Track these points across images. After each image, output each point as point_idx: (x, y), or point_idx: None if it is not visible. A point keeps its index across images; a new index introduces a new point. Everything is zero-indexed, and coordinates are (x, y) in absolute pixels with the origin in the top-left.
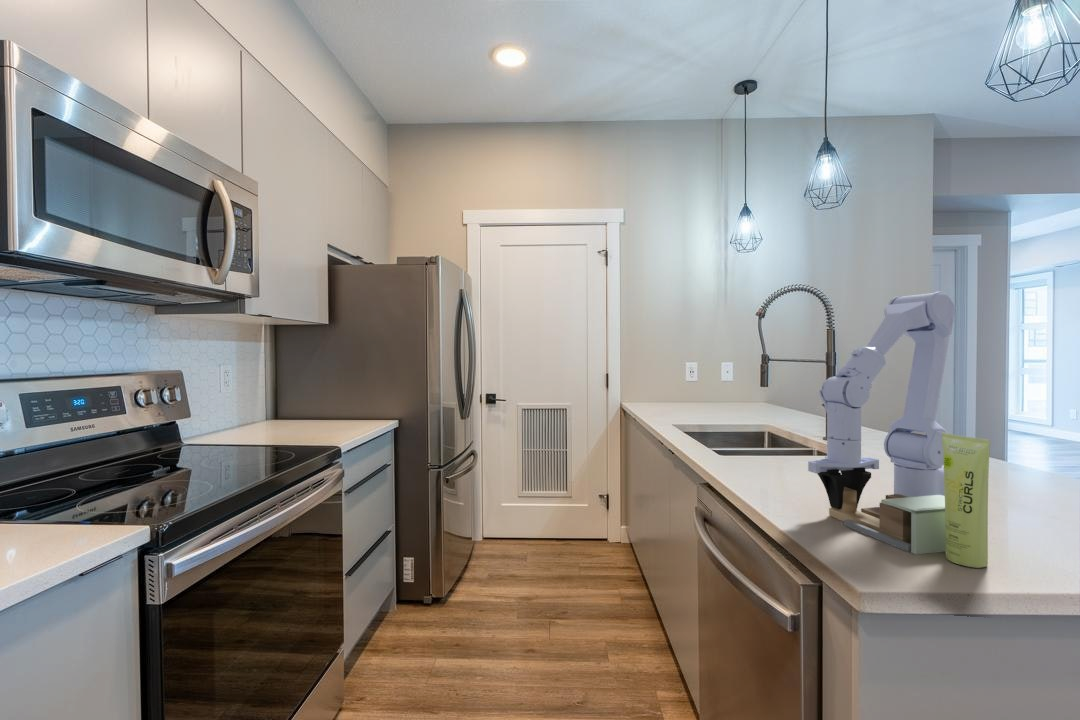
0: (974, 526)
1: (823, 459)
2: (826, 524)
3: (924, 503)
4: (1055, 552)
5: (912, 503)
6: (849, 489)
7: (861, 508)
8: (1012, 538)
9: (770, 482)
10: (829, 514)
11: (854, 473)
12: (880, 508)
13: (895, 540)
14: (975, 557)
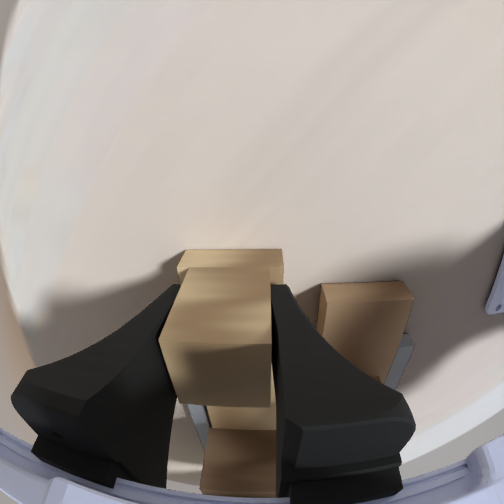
0: None
1: (19, 499)
2: (122, 318)
3: None
4: (431, 446)
5: None
6: (248, 389)
7: (328, 304)
8: (457, 415)
9: None
10: (184, 254)
11: (277, 488)
12: (202, 475)
13: (203, 445)
14: None
